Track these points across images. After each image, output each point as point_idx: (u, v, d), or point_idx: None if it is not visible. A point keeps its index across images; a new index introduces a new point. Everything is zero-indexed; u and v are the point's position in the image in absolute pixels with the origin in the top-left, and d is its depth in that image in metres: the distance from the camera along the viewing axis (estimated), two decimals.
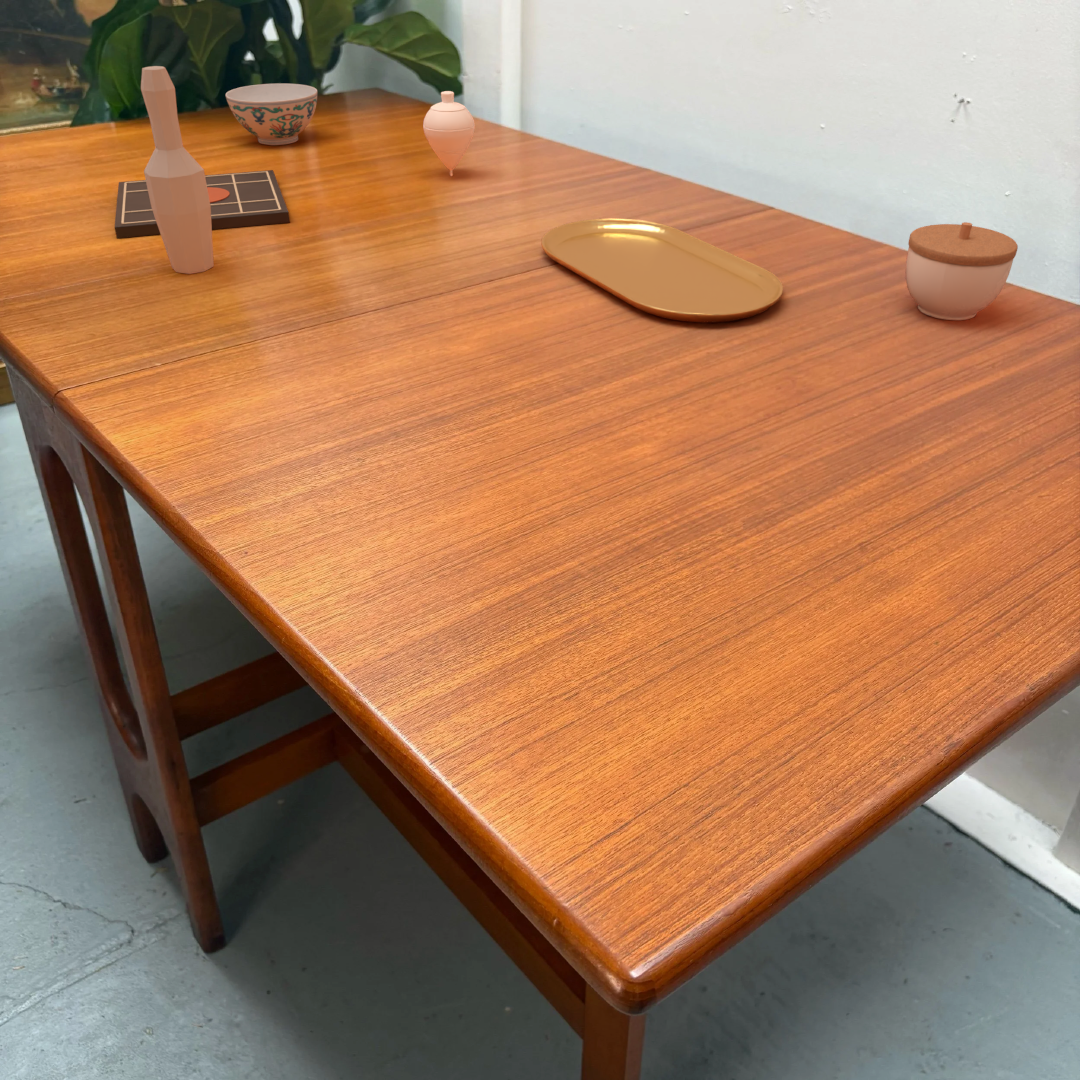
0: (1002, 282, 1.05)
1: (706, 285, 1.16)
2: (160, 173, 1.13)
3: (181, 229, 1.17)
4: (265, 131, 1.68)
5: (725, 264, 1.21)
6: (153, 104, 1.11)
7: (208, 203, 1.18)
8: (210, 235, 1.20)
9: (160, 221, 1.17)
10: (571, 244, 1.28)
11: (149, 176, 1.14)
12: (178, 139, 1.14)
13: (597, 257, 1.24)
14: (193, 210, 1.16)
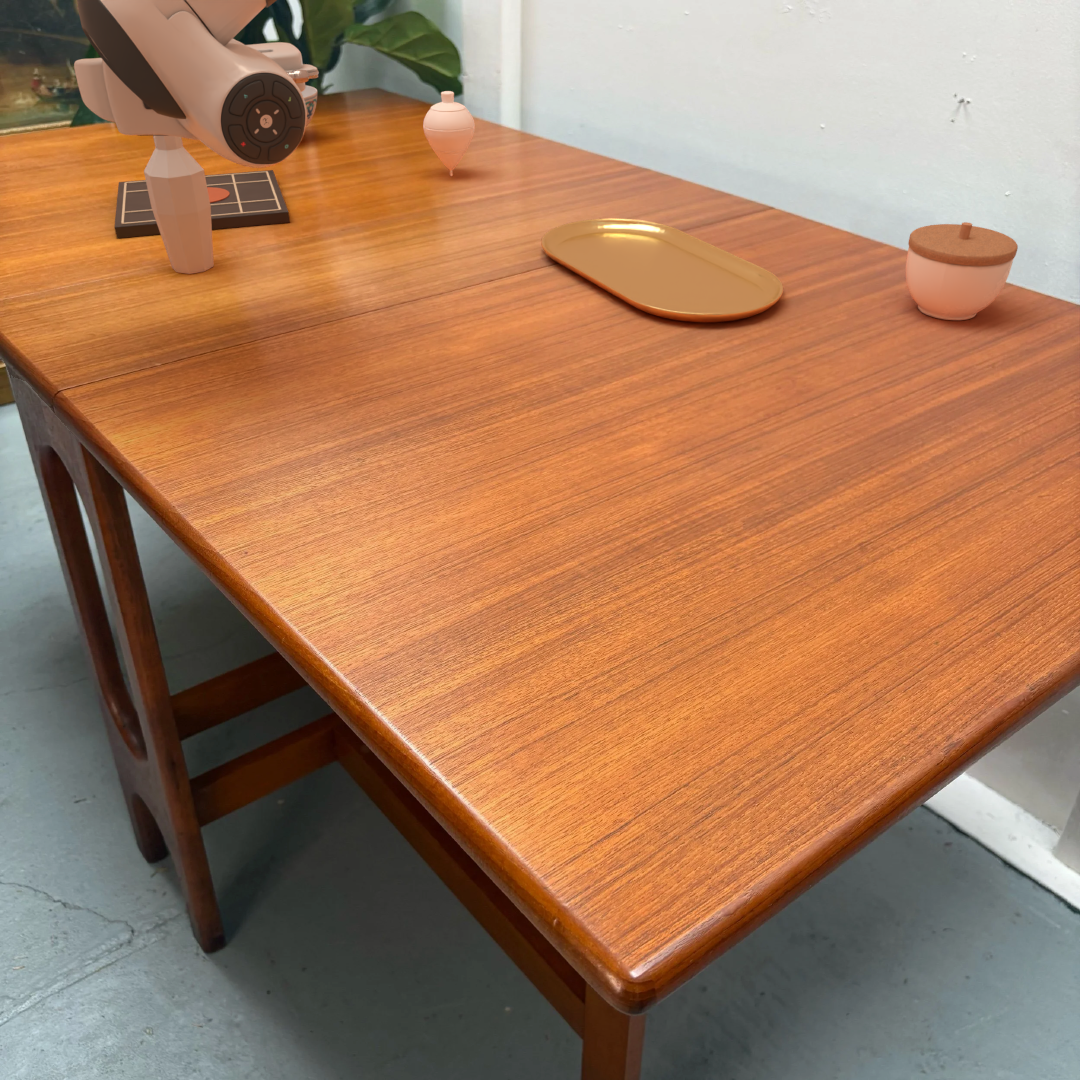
0: (1002, 282, 1.05)
1: (706, 285, 1.16)
2: (160, 173, 1.13)
3: (181, 229, 1.17)
4: None
5: (725, 264, 1.21)
6: None
7: (208, 203, 1.18)
8: (210, 235, 1.20)
9: (160, 221, 1.17)
10: (571, 244, 1.28)
11: (149, 176, 1.14)
12: (178, 139, 1.14)
13: (597, 257, 1.24)
14: (193, 210, 1.16)
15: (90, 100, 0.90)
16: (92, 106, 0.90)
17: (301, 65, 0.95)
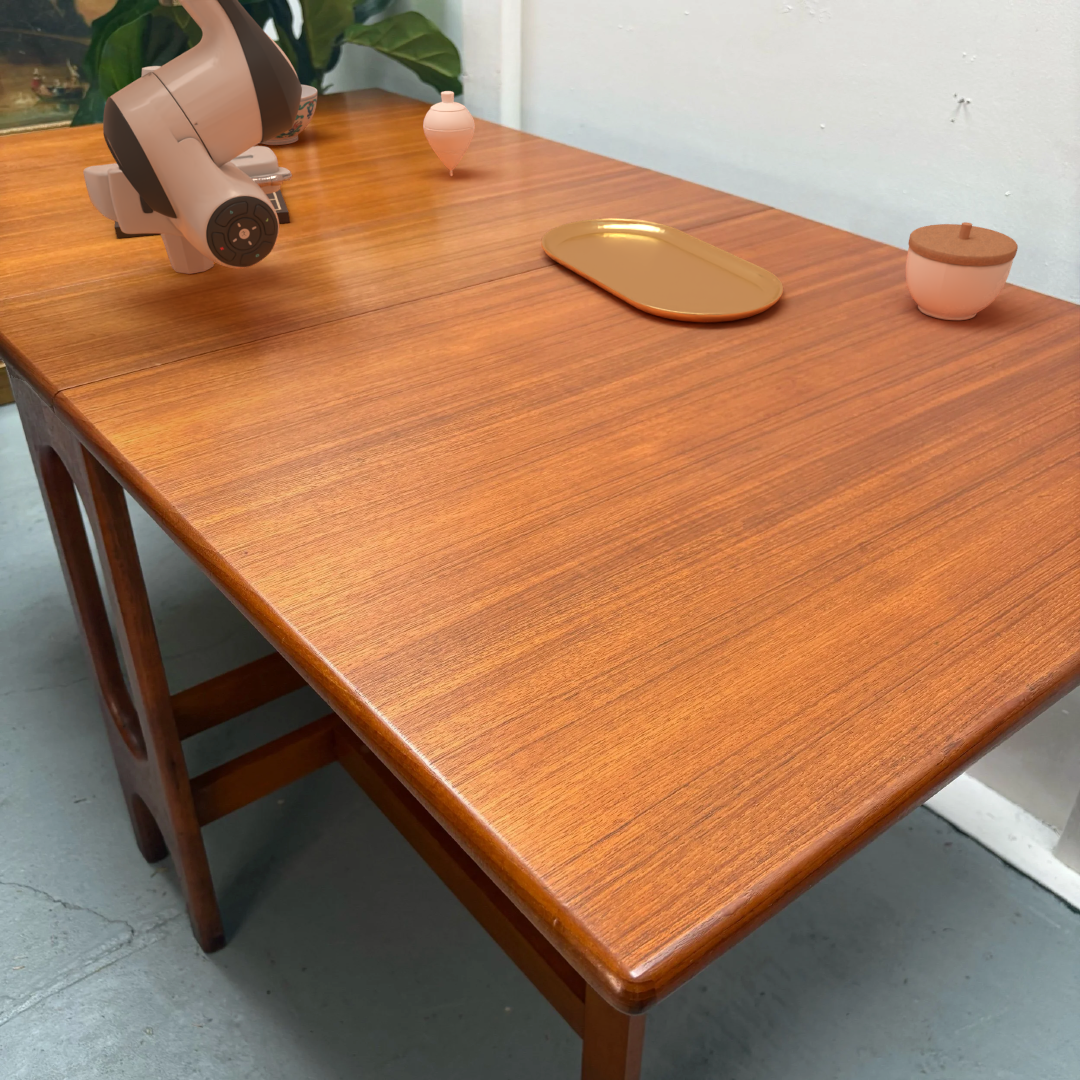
0: (1002, 282, 1.05)
1: (706, 285, 1.16)
2: None
3: None
4: None
5: (725, 264, 1.21)
6: None
7: None
8: None
9: None
10: (571, 244, 1.28)
11: None
12: None
13: (597, 257, 1.24)
14: None
15: (97, 203, 1.06)
16: (98, 207, 1.06)
17: (277, 169, 1.11)
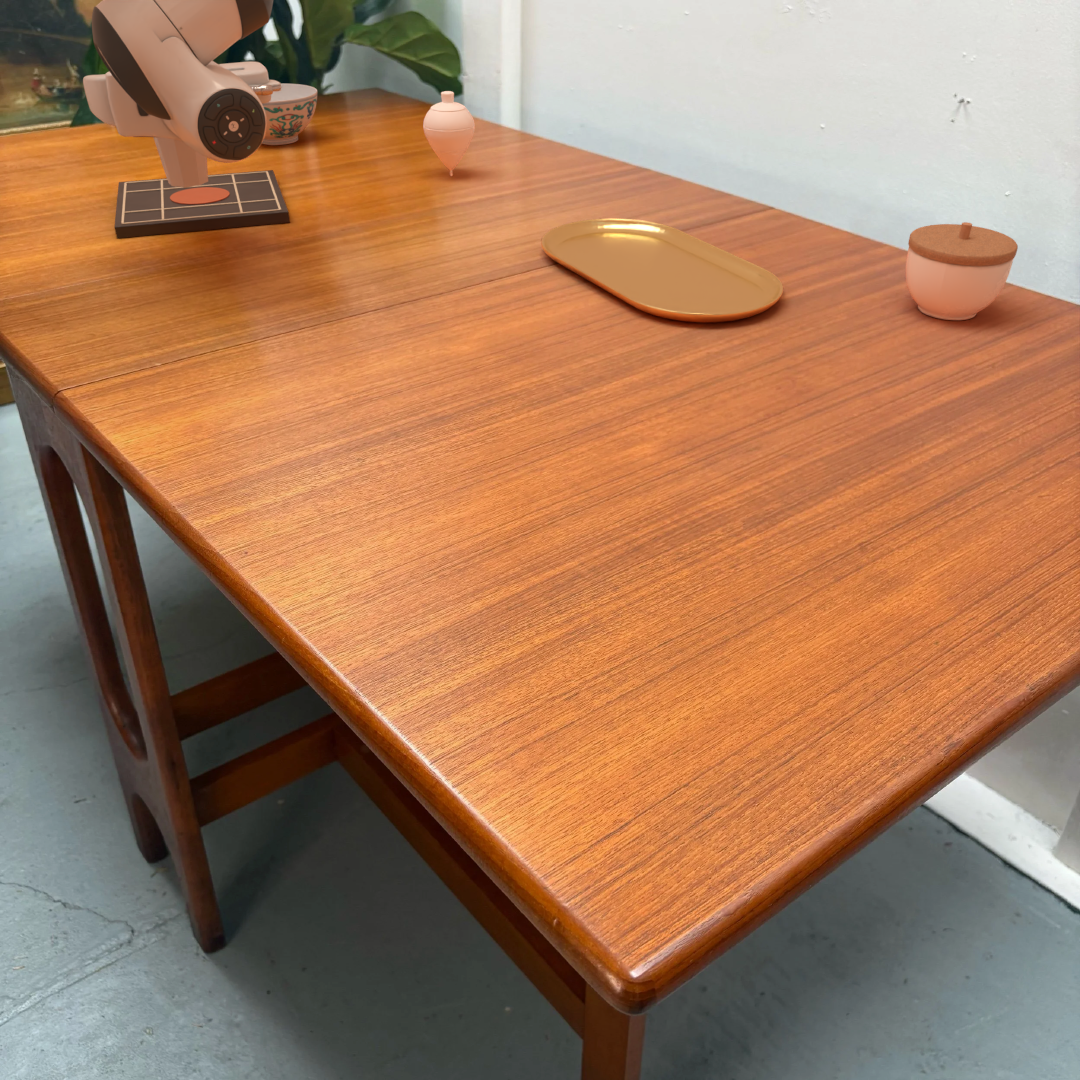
0: (1002, 282, 1.05)
1: (706, 285, 1.16)
2: None
3: (176, 141, 1.22)
4: None
5: (725, 264, 1.21)
6: None
7: None
8: None
9: None
10: (571, 244, 1.28)
11: None
12: None
13: (597, 257, 1.24)
14: None
15: (96, 108, 1.12)
16: (97, 113, 1.12)
17: (267, 80, 1.17)
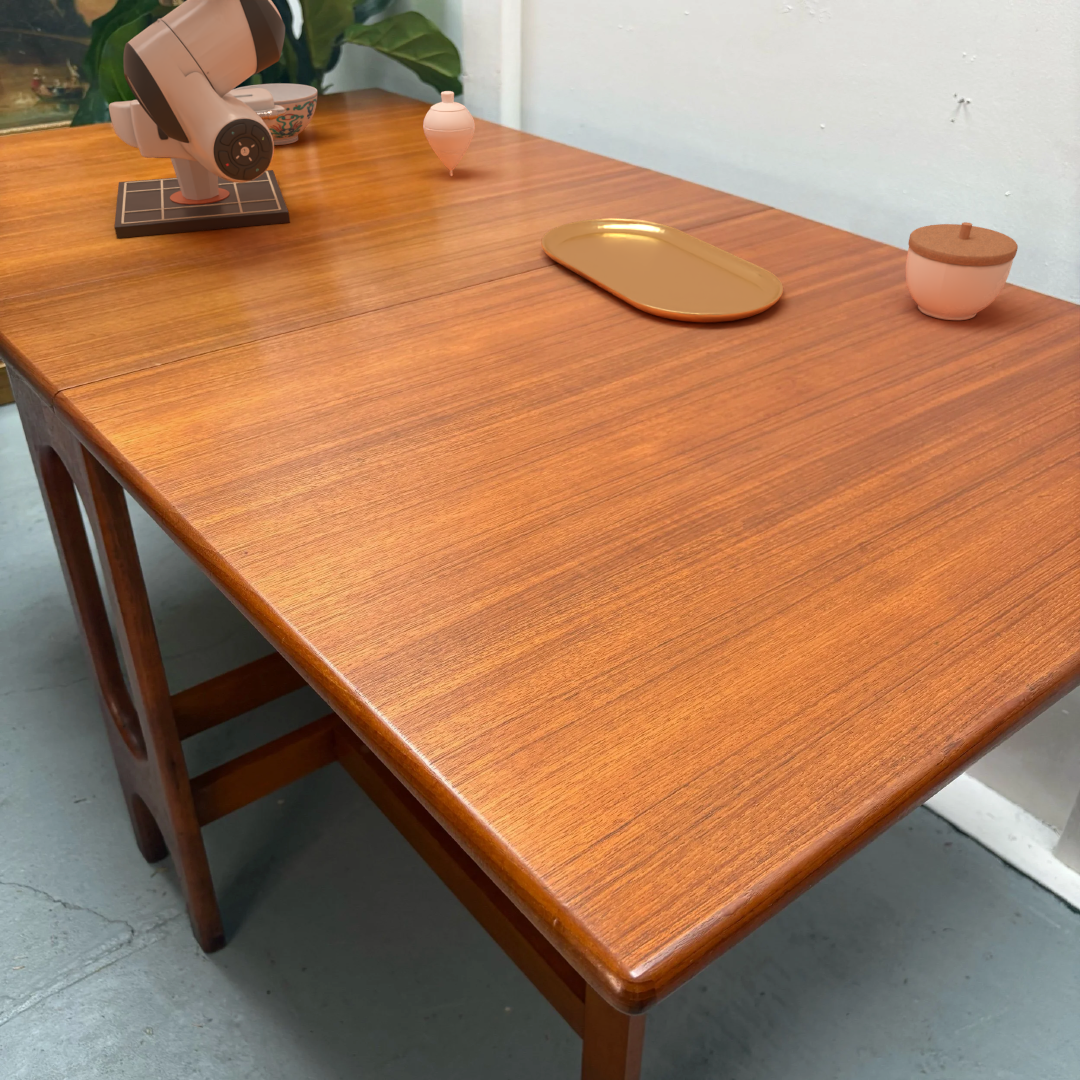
0: (1002, 282, 1.05)
1: (706, 285, 1.16)
2: None
3: None
4: None
5: (725, 264, 1.21)
6: None
7: None
8: None
9: None
10: (571, 244, 1.28)
11: None
12: None
13: (597, 257, 1.24)
14: None
15: (120, 132, 1.25)
16: (122, 136, 1.26)
17: (273, 106, 1.31)
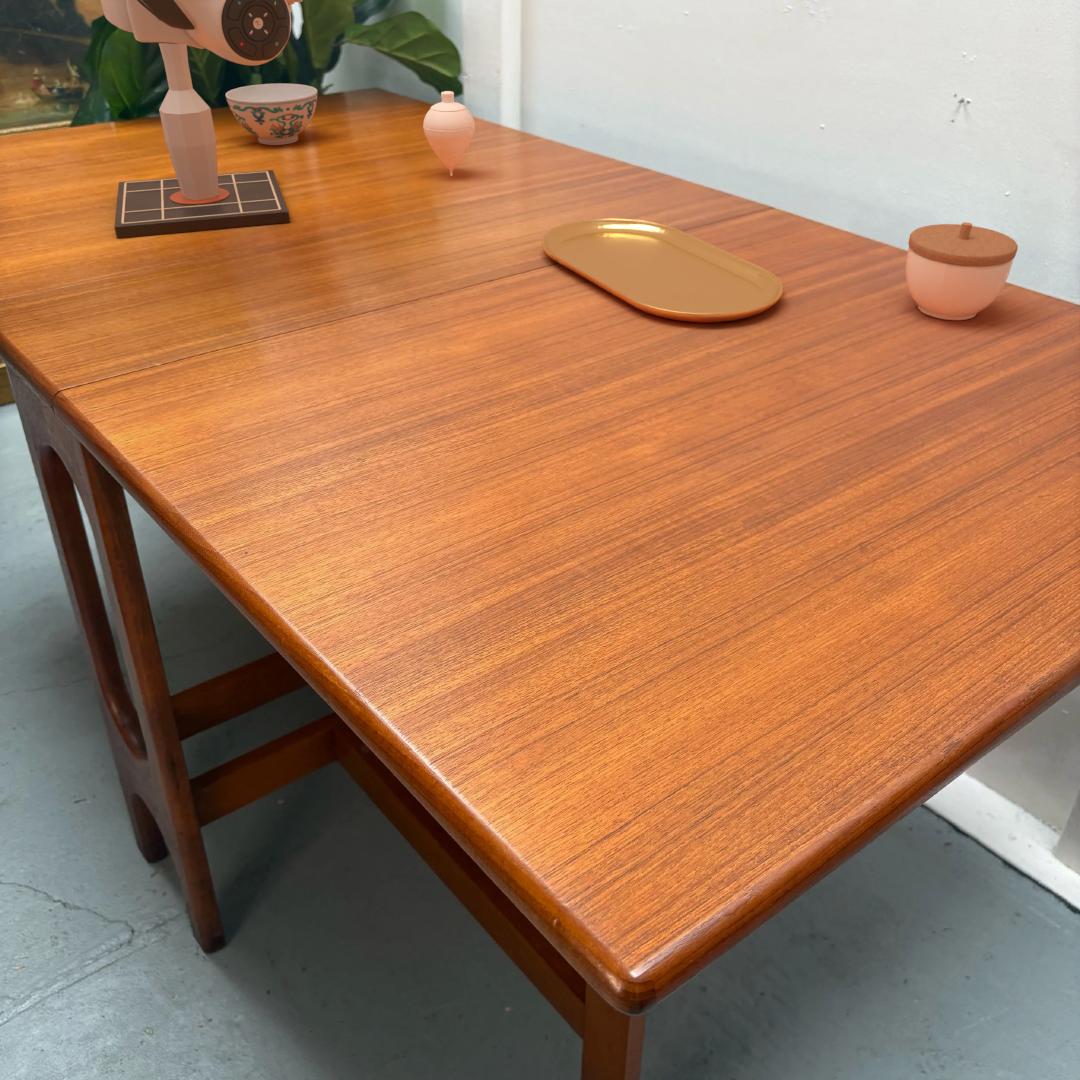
0: (1002, 282, 1.05)
1: (706, 285, 1.16)
2: (173, 110, 1.33)
3: (191, 159, 1.36)
4: (265, 131, 1.68)
5: (725, 264, 1.21)
6: (167, 50, 1.30)
7: (214, 138, 1.37)
8: (216, 167, 1.39)
9: (173, 153, 1.36)
10: (571, 244, 1.28)
11: (163, 113, 1.33)
12: (188, 81, 1.33)
13: (597, 257, 1.24)
14: (201, 143, 1.35)
15: (112, 14, 1.08)
16: (113, 19, 1.08)
17: None
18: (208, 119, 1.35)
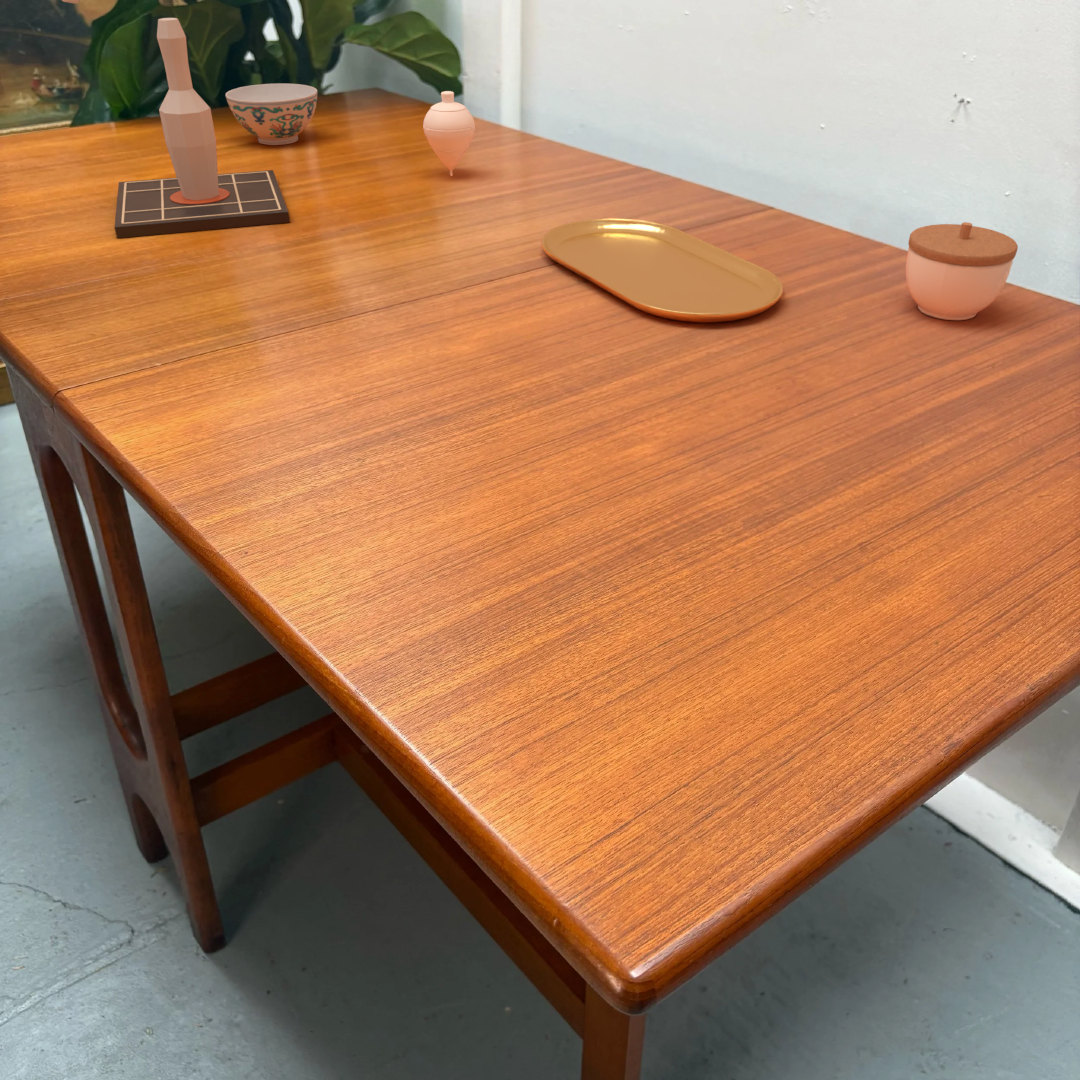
0: (1002, 282, 1.05)
1: (706, 285, 1.16)
2: (173, 110, 1.33)
3: (191, 159, 1.36)
4: (265, 131, 1.68)
5: (725, 264, 1.21)
6: (167, 50, 1.30)
7: (214, 138, 1.37)
8: (216, 167, 1.39)
9: (173, 153, 1.36)
10: (571, 244, 1.28)
11: (163, 113, 1.33)
12: (188, 81, 1.33)
13: (597, 257, 1.24)
14: (201, 143, 1.35)
15: None
16: None
17: None
18: (208, 119, 1.35)
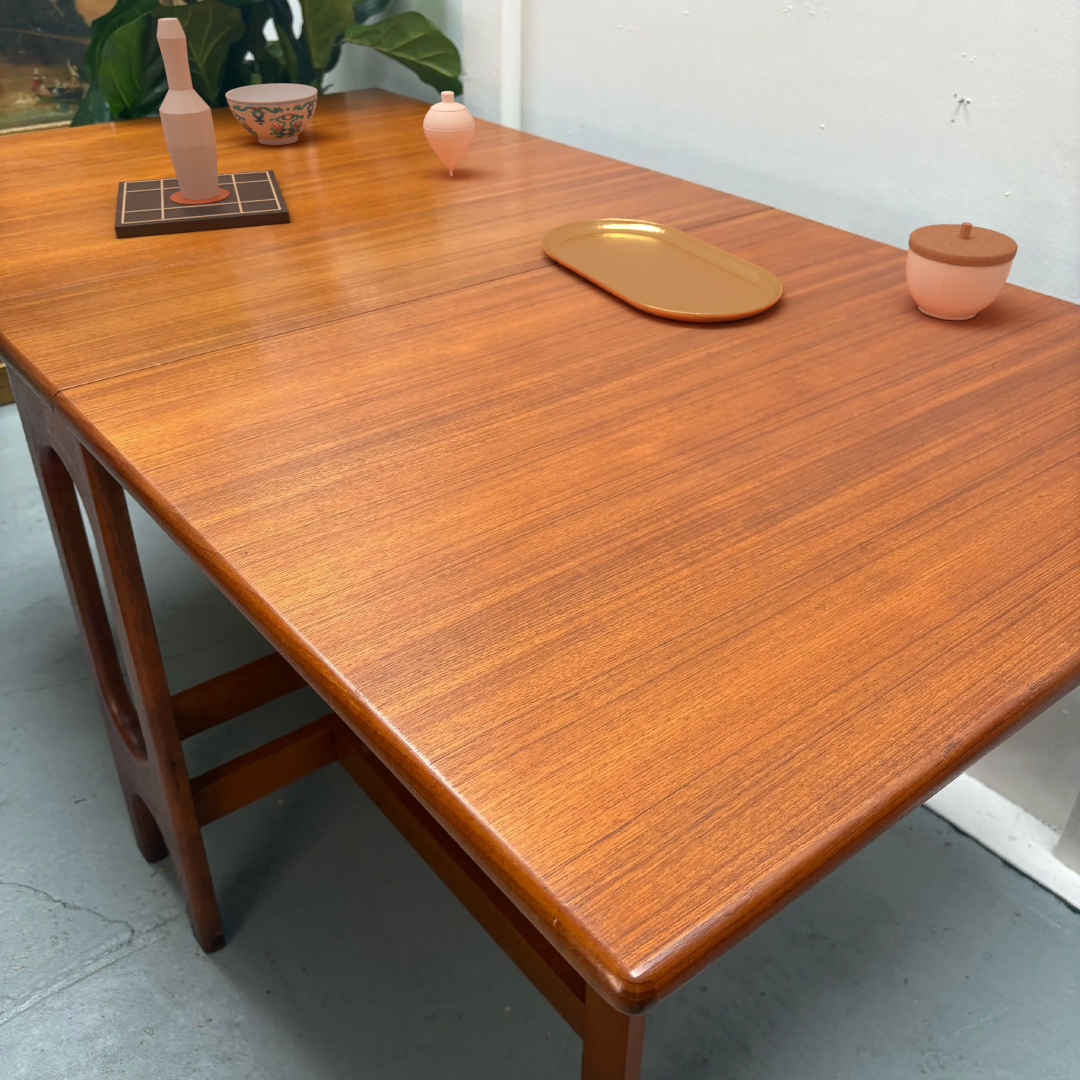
0: (1002, 282, 1.05)
1: (706, 285, 1.16)
2: (173, 110, 1.33)
3: (191, 159, 1.36)
4: (265, 131, 1.68)
5: (725, 264, 1.21)
6: (167, 50, 1.30)
7: (214, 138, 1.37)
8: (216, 167, 1.39)
9: (173, 153, 1.36)
10: (571, 244, 1.28)
11: (163, 113, 1.33)
12: (188, 81, 1.33)
13: (597, 257, 1.24)
14: (201, 143, 1.35)
15: None
16: None
17: None
18: (208, 119, 1.35)
